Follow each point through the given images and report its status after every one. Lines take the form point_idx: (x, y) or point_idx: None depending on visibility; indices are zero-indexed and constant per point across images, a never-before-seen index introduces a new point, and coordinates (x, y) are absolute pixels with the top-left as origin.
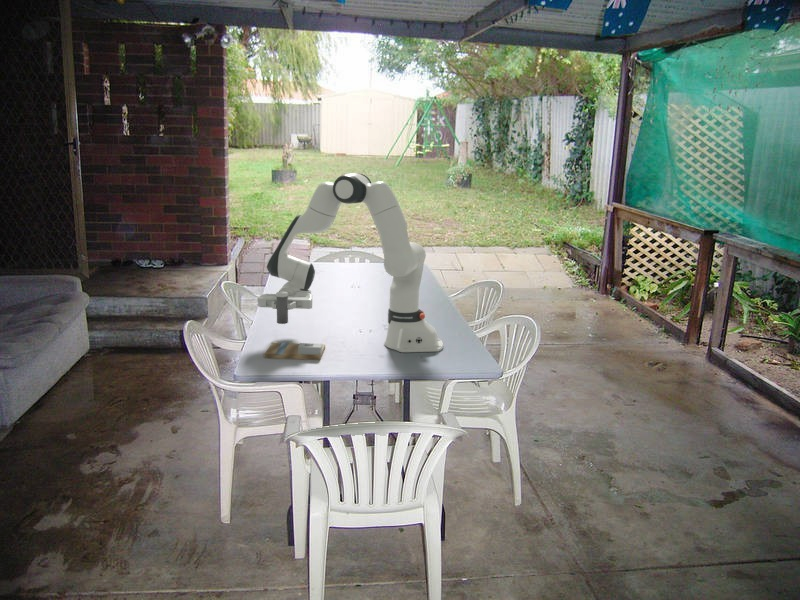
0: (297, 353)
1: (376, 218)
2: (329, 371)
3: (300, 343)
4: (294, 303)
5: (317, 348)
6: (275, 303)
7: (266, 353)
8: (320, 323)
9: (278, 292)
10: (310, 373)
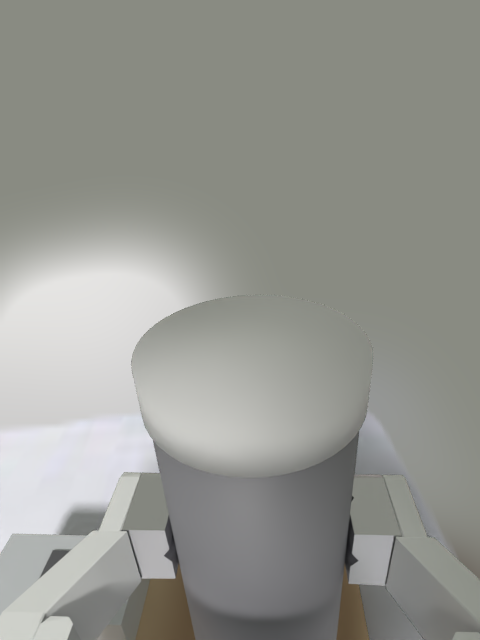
0: (157, 579)
1: None
2: (52, 443)
3: (121, 611)
4: (45, 584)
5: (33, 538)
6: (376, 514)
7: (344, 565)
8: None
9: (338, 366)
10: (126, 424)
